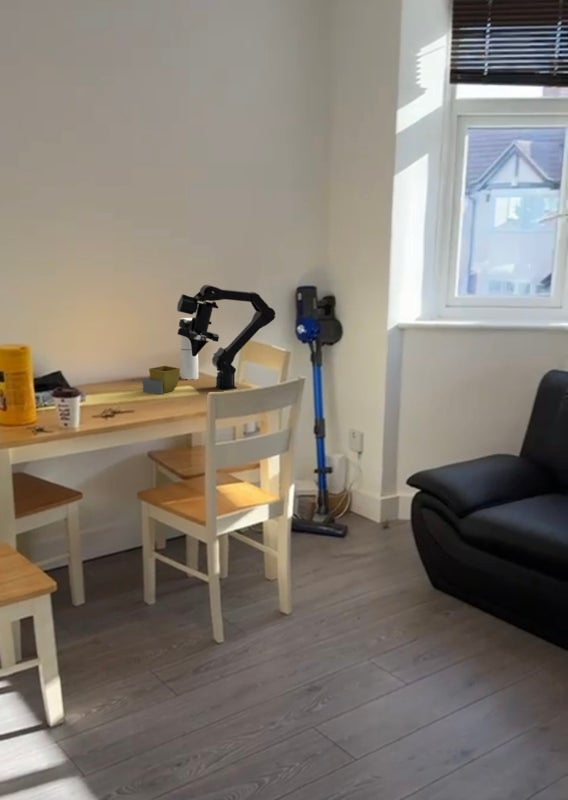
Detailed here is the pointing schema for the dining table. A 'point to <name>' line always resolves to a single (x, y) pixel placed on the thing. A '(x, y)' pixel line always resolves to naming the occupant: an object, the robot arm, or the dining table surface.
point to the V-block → (152, 386)
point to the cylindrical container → (188, 359)
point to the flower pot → (165, 376)
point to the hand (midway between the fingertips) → (193, 356)
